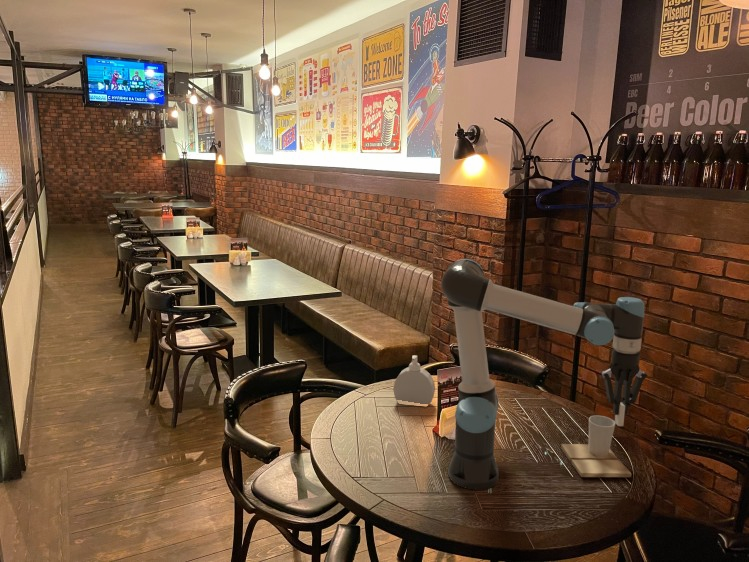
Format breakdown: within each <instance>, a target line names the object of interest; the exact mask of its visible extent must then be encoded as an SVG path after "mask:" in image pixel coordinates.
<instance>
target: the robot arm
mask: <svg viewBox="0 0 749 562" xmlns="http://www.w3.org/2000/svg"><path fill="white" fill-rule="evenodd" d="M485 276H486V275H485V272H484V270H483V268H482V266H481V265H480V264H479V263H478V262H476V261H475V260H473V259H469V258H461V259H458V260H455V261H454V262H452V263H451V264H450V265H449V266H448V268H447V270H446V271H445V272H444V273H443V275H442V278H441V280H440V281H441V282H440V288H441V292H442V294H443V297H445V298H446V299H447V305H448V307H449V308H451V309H452V310H453V316H454V325H455V331H456V333H455V334H456V339H457V340H456V341H457V342H456V343H457V347H458V349H457V350H458V356H459V365H460V374H461V382H460V383H459V384H458V385H457V387H458V396H459V402H458V404H457V405H456V407H455V412H454V417H455V431H454V433H455V434H454V436H455V437H454V452H453V455H452V457H451V460H450V463H449V465H448V469H447V470H448V471H447V473H448V474H449V476H448V478H449V477H450V478H451V479H452V481H453V482H455V483H456V484H458V485H460V486H462V487H461V488H463V487H466V488H469V489H468V490H471V489H473V491H474V490H475V491H480V490H481V491H482V490H488V489H491V488H493V487H494V486H496V485H498V483H499V476H500V472H499V468H498V465H497V461H496V457H495V454H494V453H495V451H494V449H495V435H496V433H495V432H496V431H495V430H496V424H497V416H498V415H497V414H498V410H499V399H498V395H497V392H496V385H495V382H494V381H493V380H492V379H490V375H489V374H490V373H489V364H488V357H487V347H486V346H487V345H486V339H485V338H486V337H485V330H484V329H485V328H484V320H483V313H482V312H483V311H485V310H487V311H491V312H495V313H498V314H501V315H505V316H508V317H511V318H515V319H518V320H522V321H525V322H529V323H532V324H536V325H538V326H542V327H545V328H548V329H549V328H550V329H552V330H556V331H560V332H564V333H567V334H570V335H574V336H577V337H581V338H584V339H586V340H587V341H588V342H589V343H591V344H593V345H594V346H604V345H605V346H606V345H607V344H609V343H610V342H611V341H613V342H612V348H613V349H612V351H611V359H610V360H611V363H610V365H609V367H608V369H606V370H601V372H600V374H601V375H602V377H603V380H604V386H605V391H606V393H605V394H606V398H607V401H609V403H610V404H613V406H612V413H613V414H614V422H615V425H616V426H618V427H624V423H625V416H627V415H628V412H629V411H628V410H629V407H630V406H631V404H635V403H636V401H637V398H638V396H639V393H640V390H641V388H642V385H643V383H644V380H646V379H647V377H648V374H647V373H646V372H645V371H644V370H641V368H640V366H639V364H640V358H641V352H640V351H641V348H642V340H643V339H642V338H643V337H642V336H643V330H644V320H645V302H644V300H643V299H641V298H638V297H632V296H624V297H623V296H622V297H620V296H619V297H618V298H617V300H616V302H615V303H598V302H597V303H596V302H588V301H584V302H582V301H581V302H579V301H578V302H574V304H573V305H570V304H566V303H562V302H559V301H556V300H552V299H549V298H546V297H542V296H538V295H534V294H531V293H528V292H525V291H520V290H517V289H512V288H509V287H506V286H503V285H499V284H496V283H495V284H494V283H493V281H492V279H491V278H486V277H485ZM612 375H613V378H614V388H613V384H612V378H611V377H612ZM634 377H635V378H634ZM633 379H634V380H633ZM450 478H449V479H450ZM452 481H451V482H452ZM453 482H452V483H453ZM455 483H454V484H455ZM456 484H455V485H456ZM458 485H457V486H458ZM460 486H459V487H460ZM466 488H465V489H466Z"/></svg>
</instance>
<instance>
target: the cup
mask: <svg viewBox="0 0 749 562" xmlns="http://www.w3.org/2000/svg"><path fill="white" fill-rule="evenodd" d="M615 427H616V423H615V420H614V419H612V418H610V417H608V416H604V415H590V417H588V438H587V439H588V443H587V444H588V451H589V452H590V453H591V454H593V455H595V456H601V457H604V456H607V455H609V450H610V449H611V444H612V440H613V436H614V431H615Z"/></svg>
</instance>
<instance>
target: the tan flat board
mask: <svg viewBox="0 0 749 562" xmlns="http://www.w3.org/2000/svg"><path fill="white" fill-rule="evenodd" d="M561 449H562V451H563V453H564V454H565V456H566V457H567V459H568V460H569V462H570V463H571V460H619V459H618V457H617V456H616V455H615V453H614V452H613V451H612V449H611V448H610V450H609V455H607V456H604V457H601V456H595V455H593V454H591V453H590V452H589V451H588V443H586V444H583V443H570V444H569V443H561Z"/></svg>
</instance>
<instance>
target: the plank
mask: <svg viewBox="0 0 749 562" xmlns="http://www.w3.org/2000/svg"><path fill="white" fill-rule="evenodd" d="M570 463H571V465H572V466H573V468H574V469H575V470H576V472H577V473H578V474H579V476H580V477H581V478H632V473H631V471H630V470H629V469H628V468H627V467H626V466H625V465H624V464H623V463H622V461H621V460H620V459H618V460H571V462H570Z"/></svg>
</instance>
